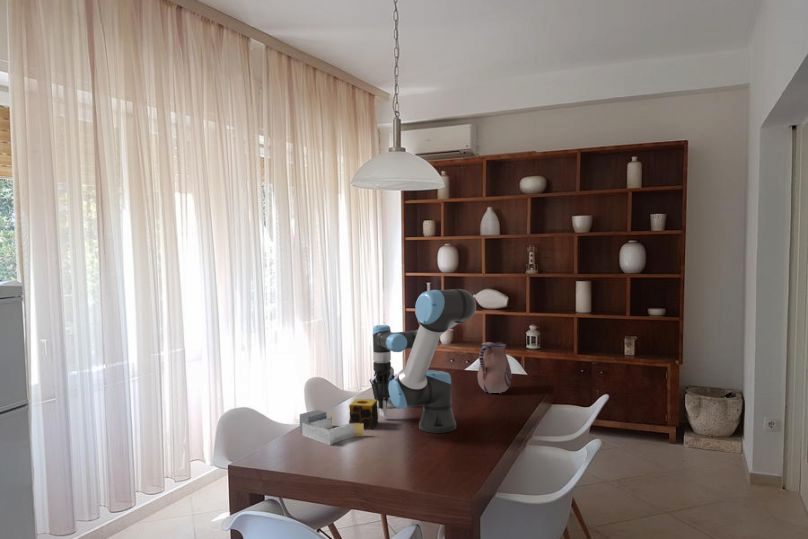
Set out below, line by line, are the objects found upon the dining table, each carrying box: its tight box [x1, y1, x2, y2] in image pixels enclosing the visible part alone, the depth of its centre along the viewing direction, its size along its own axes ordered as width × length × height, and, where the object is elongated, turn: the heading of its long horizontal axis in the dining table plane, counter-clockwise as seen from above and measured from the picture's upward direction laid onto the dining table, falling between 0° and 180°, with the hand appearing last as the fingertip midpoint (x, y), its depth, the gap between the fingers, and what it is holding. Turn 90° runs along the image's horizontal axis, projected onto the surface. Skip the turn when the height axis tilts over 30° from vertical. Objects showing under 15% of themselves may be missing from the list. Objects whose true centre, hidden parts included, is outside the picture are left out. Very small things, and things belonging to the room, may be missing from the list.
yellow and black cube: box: [348, 398, 379, 430], centre depth 233 cm, size 10×10×10 cm
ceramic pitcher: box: [476, 341, 513, 394], centre depth 285 cm, size 18×21×25 cm
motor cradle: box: [299, 409, 365, 446], centre depth 222 cm, size 24×16×7 cm
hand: (382, 415), depth 241 cm, fingers closed
